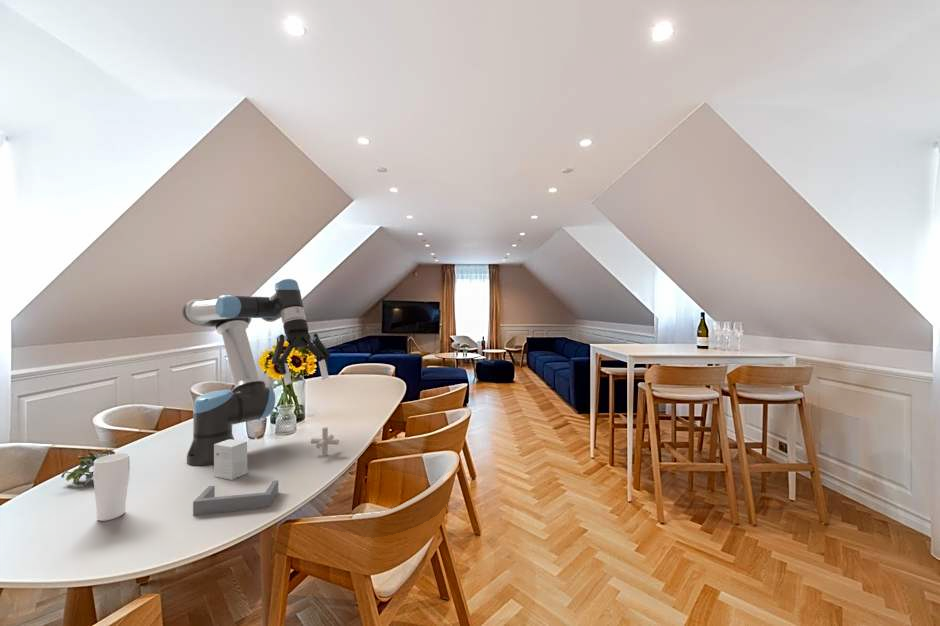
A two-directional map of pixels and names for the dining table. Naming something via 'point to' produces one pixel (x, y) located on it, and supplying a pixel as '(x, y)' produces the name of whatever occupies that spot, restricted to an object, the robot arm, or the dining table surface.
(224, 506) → the square bracket
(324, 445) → the pipe connector
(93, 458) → the green leafy plant
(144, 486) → the dining table surface
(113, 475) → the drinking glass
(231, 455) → the small box
